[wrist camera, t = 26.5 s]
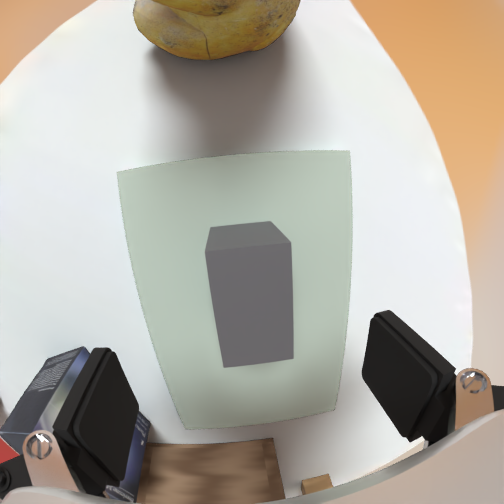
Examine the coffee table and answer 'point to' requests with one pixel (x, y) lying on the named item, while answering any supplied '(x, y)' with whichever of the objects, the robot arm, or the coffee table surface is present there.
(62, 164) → the coffee table surface
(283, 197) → the lid
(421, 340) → the robot arm
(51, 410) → the small box
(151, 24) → the decorative figurine
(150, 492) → the open brown wooden box
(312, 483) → the wooden block
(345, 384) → the coffee table surface
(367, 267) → the coffee table surface
